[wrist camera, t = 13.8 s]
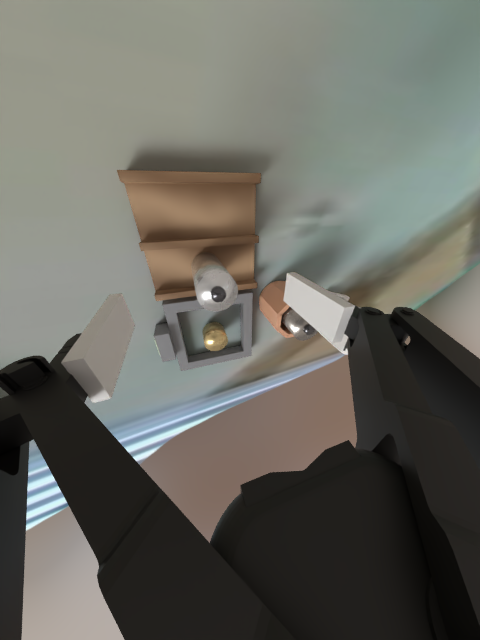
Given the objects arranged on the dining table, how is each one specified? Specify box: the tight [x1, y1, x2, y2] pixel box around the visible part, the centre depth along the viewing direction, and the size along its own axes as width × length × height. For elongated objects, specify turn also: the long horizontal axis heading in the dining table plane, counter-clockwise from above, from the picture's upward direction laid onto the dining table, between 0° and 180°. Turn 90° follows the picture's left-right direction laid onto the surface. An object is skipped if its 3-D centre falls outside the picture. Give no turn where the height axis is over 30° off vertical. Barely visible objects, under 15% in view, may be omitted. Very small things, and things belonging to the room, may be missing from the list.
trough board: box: [117, 170, 261, 301], centre depth 22 cm, size 13×14×2 cm
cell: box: [191, 252, 238, 312], centre depth 20 cm, size 4×4×10 cm
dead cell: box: [281, 307, 318, 340], centre depth 27 cm, size 4×4×10 cm
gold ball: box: [203, 322, 228, 351], centre depth 29 cm, size 4×4×3 cm
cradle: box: [154, 289, 253, 371], centre depth 29 cm, size 13×15×3 cm
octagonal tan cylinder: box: [259, 281, 294, 338], centre depth 28 cm, size 6×6×7 cm
